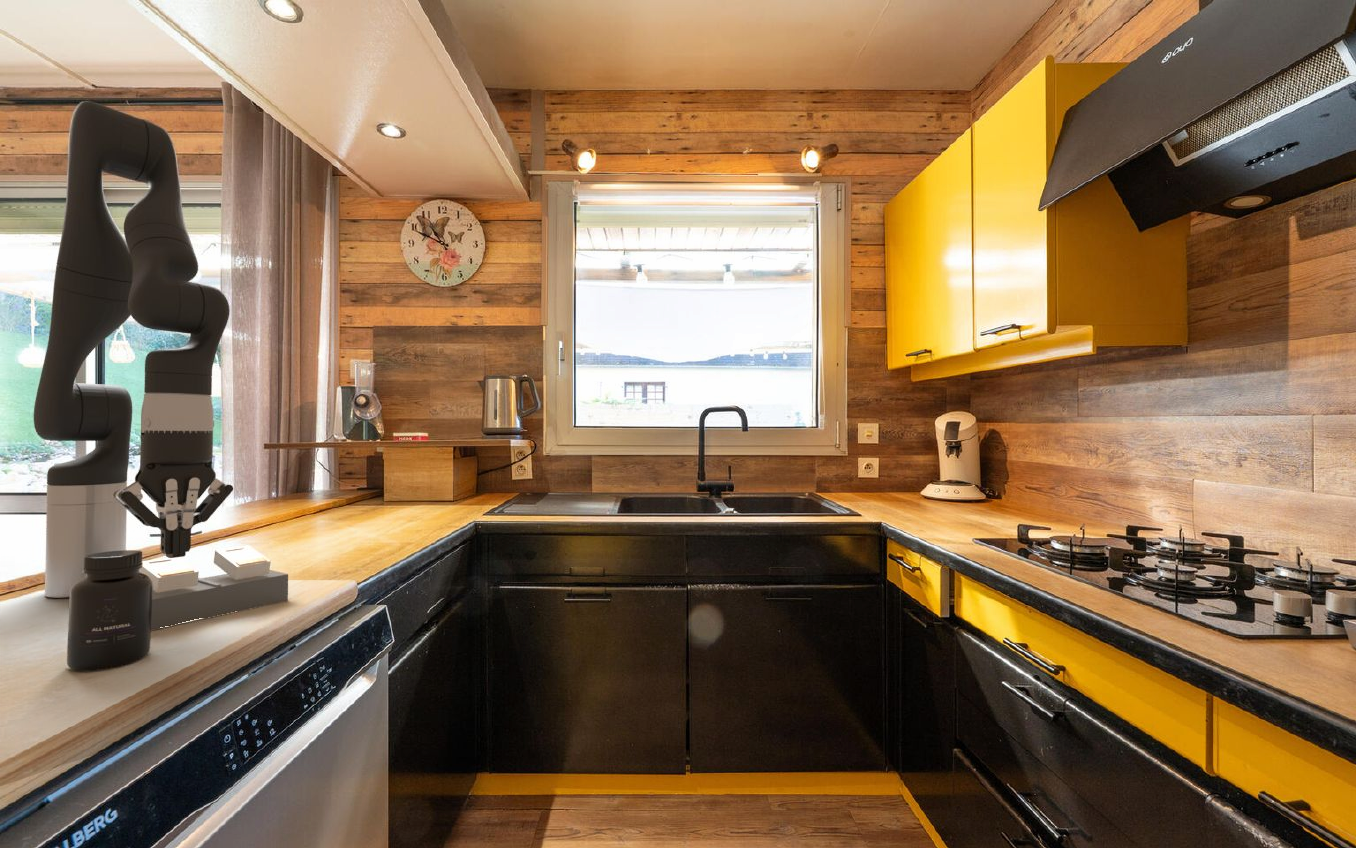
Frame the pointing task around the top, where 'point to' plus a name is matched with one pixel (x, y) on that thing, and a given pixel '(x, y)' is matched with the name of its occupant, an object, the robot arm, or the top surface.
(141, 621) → the supplement bottle
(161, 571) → the block
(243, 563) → the rocker
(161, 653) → the top surface
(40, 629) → the top surface
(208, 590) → the switch panel
